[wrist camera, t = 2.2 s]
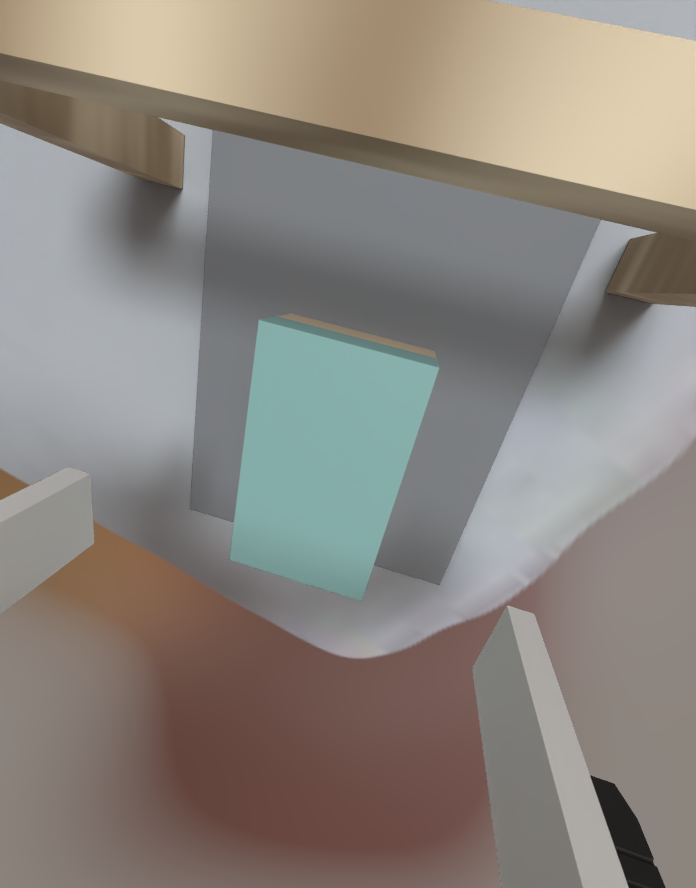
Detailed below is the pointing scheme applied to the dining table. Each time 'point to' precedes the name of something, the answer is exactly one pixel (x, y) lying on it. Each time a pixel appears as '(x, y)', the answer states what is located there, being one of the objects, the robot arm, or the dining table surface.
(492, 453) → the mat
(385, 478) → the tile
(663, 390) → the dining table surface
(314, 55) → the rail
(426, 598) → the dining table surface
